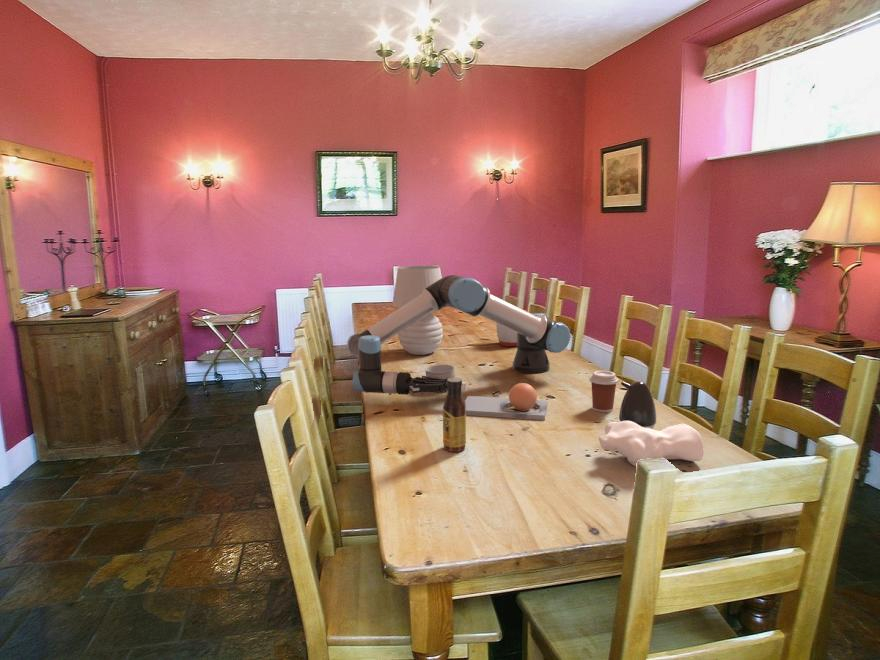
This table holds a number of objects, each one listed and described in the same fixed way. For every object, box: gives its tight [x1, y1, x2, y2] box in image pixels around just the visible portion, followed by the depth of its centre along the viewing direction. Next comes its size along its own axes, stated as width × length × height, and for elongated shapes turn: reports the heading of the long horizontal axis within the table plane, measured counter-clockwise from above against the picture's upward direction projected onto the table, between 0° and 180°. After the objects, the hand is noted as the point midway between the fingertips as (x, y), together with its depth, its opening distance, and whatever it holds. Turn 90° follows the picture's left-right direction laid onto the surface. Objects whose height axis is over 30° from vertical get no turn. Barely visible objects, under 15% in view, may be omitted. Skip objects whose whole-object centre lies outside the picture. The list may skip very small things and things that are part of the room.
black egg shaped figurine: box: [618, 381, 657, 429], centre depth 164 cm, size 10×10×15 cm
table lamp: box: [392, 265, 444, 356], centre depth 265 cm, size 25×25×40 cm
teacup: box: [424, 363, 456, 391], centre depth 212 cm, size 14×11×8 cm
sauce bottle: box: [442, 377, 467, 453], centre depth 154 cm, size 6×6×20 cm
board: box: [464, 395, 548, 421], centre depth 187 cm, size 27×15×2 cm, turn 76°
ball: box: [508, 382, 538, 412], centre depth 185 cm, size 9×9×9 cm
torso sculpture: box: [598, 421, 704, 467], centre depth 146 cm, size 18×10×25 cm
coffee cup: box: [588, 370, 620, 413], centre depth 185 cm, size 9×9×12 cm
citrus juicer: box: [492, 308, 529, 347], centre depth 280 cm, size 16×17×20 cm
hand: (466, 386), depth 188 cm, fingers closed
